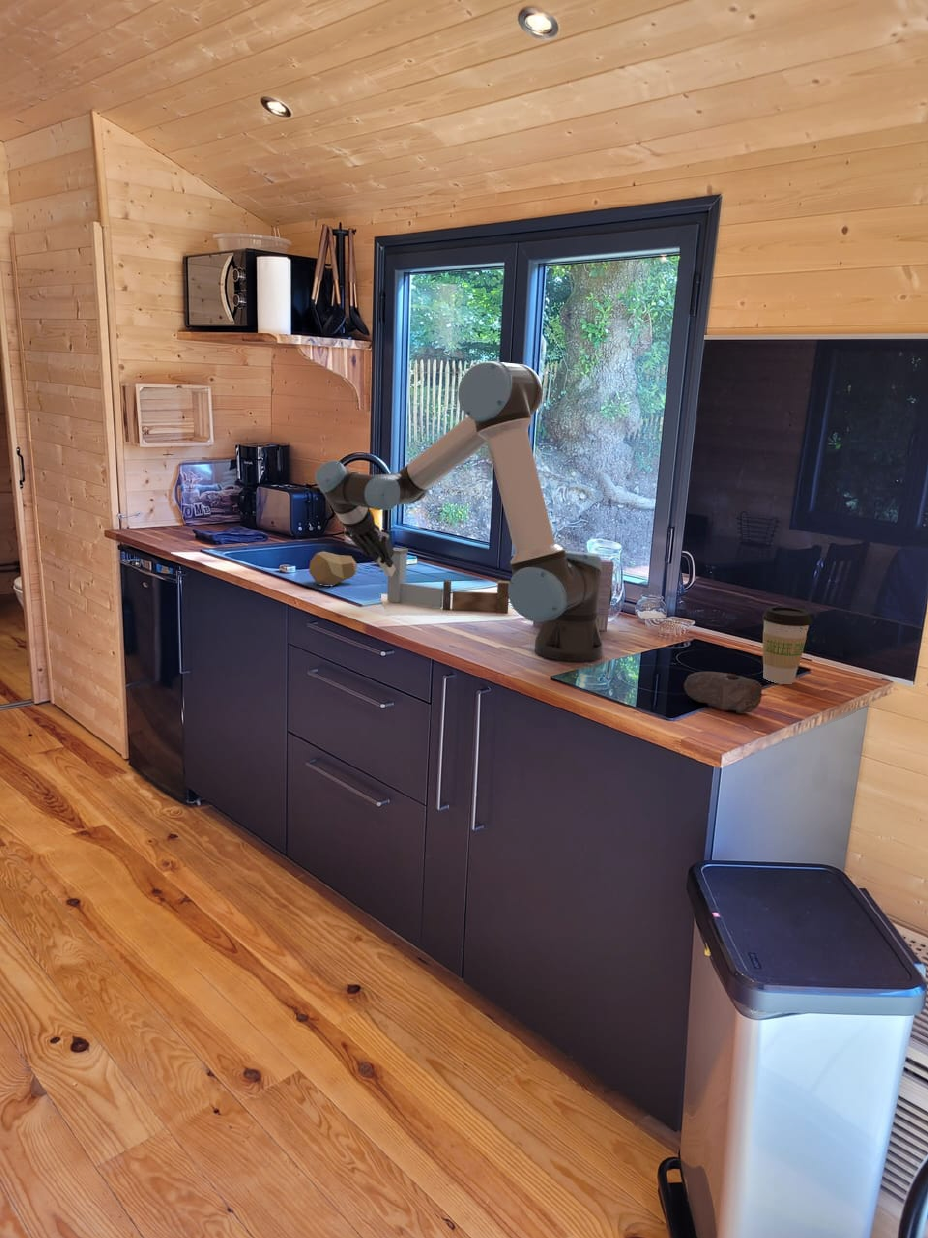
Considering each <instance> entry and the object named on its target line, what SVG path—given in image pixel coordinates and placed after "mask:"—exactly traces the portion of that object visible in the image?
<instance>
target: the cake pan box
mask: <svg viewBox="0 0 928 1238" xmlns="http://www.w3.org/2000/svg"><path fill="white" fill-rule="evenodd" d="M601 569H602V573H601V581H600V592H599V603H598V613H597V624H598V628H599V632H600V631H602V632H607V631H608V623H609V615H610V613H609V610H610V604H611V603H612V596H613V593H612V592H613V591H612V582H613V574H614V561H611V560H609V559H601ZM542 623H543V622H534V621H532V626H534V627H535V628H536V629H539V630H540V628H541V625H542Z"/></svg>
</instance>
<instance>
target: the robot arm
mask: <svg viewBox="0 0 928 1238" xmlns="http://www.w3.org/2000/svg"><path fill="white" fill-rule="evenodd" d="M457 392H458V394H457V396H458V402H459V407H460V408H461V410H462V411H463V414H465V415H466V417H464V418H463V419H462V420H461V421H460V422H458V423H457V424H456V425H455V426H454V427H452V428H451V429H450V430H449V431H447V432H446V433H445V434H443V435H442V436H441V437H440V438H438V440H436V441H435V442H434V443H433V444H431V445H430V446H428V447H427V448H426V449H425V450H424V451H423V452H421V453H420V454H418V455H417V456H416V457H415V458H414V459H413V460H411V461H410V462H409V463H408V464H407V465H406V466H404V467H403V468H402V469H400V470H399V471H397V472H390V473H380V474H367V473H366V474H365V473H359V472H352V471H348V470H347V467H346V466H345V465H344V464H343V463H342V462H341V461H339V460H330V461H327V462H324V463H323V464H321V465H320V466H319V467H318V468H317V470H316V472H315V474H314V480H315V482H316V485H317V486H318V488H319V490H320V493H322V494H323V497H324V498H325V499H326V501H327V502H328V504H329V505H330V506H331V508H332V509H333V512H334V513H335V514H336V516H337V518H338V519H339V521H340V522H341V524H342V525H343V527H344V528H345V531H344V532H343V533H344V535H345V536H346V537H347V538H349V539H350V540H351V541H352V542H353V544H354V545H356V547H357V548H358V549H359V550H360V551H361V552H362V553H363V554H364V556H365V557H367V558H370V557H371V558H372V559H373V560H375V562H376V564H378V566H379V567H380V568H381V570H382V571H383V573H384V574H385V577H386V576H387V577H388V576H390V577H392V575H393V574H394V572H395V570H396V567H395V566H394V564H393V561H392V559H391V558H392V556H393V554H394V550H393V548H394V547H393V544H392V542H391V541H392V540H391V538H390V534H391V532H390V531H389V530H386V531H385V532H384V531H382V530H380V527H379V526H378V525H376V521H375V515H374V513H373V512H372V510H371V509H374V510H377V511H381V510H382V511H390V510H393V509H394V507H396V506H397V505H398V506H399V505H405V504H406V505H407V504H408V505H410V504H414V503H417V502H419V501H421V500H423V499H424V498H425V497H426V496H427V493H428V490H429V489H430V488H431V487H432V486H434V485H435V484H436V483H438V482H440V481H441V480H442V479H443V478H444V477H446V476H447V475H448V474H450V472H453V471H454V470H455V469H456V468H457V467H459V466H460V465H461V464H463V463H464V462H465V461H467V460H468V459H469V458H470V457H471V456H473V455H475V454H476V453H477V452H478V451H479V450H481V449H482V448H483V447H485V446H486V445H487V446H488V451H489V455H490V460H491V463H492V466H493V470H494V475H495V479H496V482H497V486H498V491H499V495H500V497H501V498H500V499H501V502H502V506H503V511H504V515H505V519H506V523H507V526H508V529H509V530H508V531H509V534H510V538H511V541H512V542H511V543H512V546H513V549H514V555H513V557H512V559H511V560H510V567H511V571H512V577H511V578H510V581H509V587H508V595H509V602H510V604H511V607H512V609H513V610H514V611H515V612H516V613H517V614H518V615H519V616H521V617H523V618H524V619H526V620H528V621H530V622H533V621H534V622H543V623H542V625H541V628H540V629H539V631H538V632H537V635H536V638H535V642H534V652H535V653H536V654H538V655H539V656H542V657H544V658H548V659H551V660H557V661H562V662H563V661H564V662H578V663H579V662H590V661H591V662H592V661H595V660H598V659H600V658H601V657H603V656H602V655H603V648H604V647H603V641H602V637H601V633H600V631H599V628H598V624H597V613H598V603H599V592H600V581H601V573H602V569H601V560H602V558H601V556H599V555H598V554H595V553H591V552H582V551H575V550H568V549H567V550H566V549H565V548H564V547H562V546H561V545H559V544H557V543H556V541H555V537H554V534H553V530H552V529H553V528H552V525H551V522H550V521H551V520H550V517H549V513H548V508H547V504H546V501H545V497H544V493H543V492H544V491H543V489H542V485H541V481H540V478H539V473H538V470H537V465H536V461H535V457H534V453H533V449H532V445H531V441H530V437H529V432H528V428H529V427H530V425H531V423H532V422H533V418H532V416H533V414H535V413H536V412H537V410H538V409H539V407H540V405H541V403H542V399H543V394H544V393H543V383H542V381H541V379H540V377H539V376H538V374H537V373H536V372H535V370H533V369H532V368H531V367H529V366H527V365H525V364H522V363H515V362H514V363H512V362H511V363H510V362H504V361H503V362H501V361H498V360H490V361H480V362H479V363H476V364H474V365H472V366H471V367H470V368H469V369H468V370H466V372H465V373H464V375H463V376H462V379H461V380H460V383H459V386H458V391H457Z"/></svg>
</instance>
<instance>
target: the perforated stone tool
mask: <svg viewBox="0 0 928 1238" xmlns="http://www.w3.org/2000/svg"><path fill="white" fill-rule="evenodd" d="M685 679H686V680H685V681H684V683H683V688H684V691H685V693H686V695H688V697H690V698H691V699H693V700H694V701H696V702H698V703H702V704H703V703H704V704H707V705H708V707H710V708H714V709H718V710H721V711H734V712H735V713H737V714H745V713H749V712H750V713H751V712H753V711H754V710H755V709H757V708H758V707H759V705H760V703H761V701H762V697H763V695H762V691H763V685H762V684H761V683H760V682H759V681H758V680H755V679H752V678H747V677H744V676H740V675H736V674H733V673H732V674H731V673H725V672H718V671H717V672H716V671H699V672H694V673H692V674H691V673H690V674H689V675H688V676H687V678H685Z"/></svg>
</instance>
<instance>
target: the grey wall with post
mask: <svg viewBox="0 0 928 1238" xmlns="http://www.w3.org/2000/svg"><path fill="white" fill-rule="evenodd" d="M393 550H394V554H393V556H392V558H391V559H392V561H393V564H394V566H395V567H396V570H395V572H394V574H393V575H392V577H390V576H387V593H386V594H387V601H392V602H398V603H399V602H406V603H412V604H418V605H424V606H431V607H437V608H441V607H442V601H443V588H442V587H435V586H430V585H429V586H428V585H421V584H417V583H416V584H415V583H411V582H410V583H409V582H407V557H408V555H407V554H408V553H409V549H408V548H402V547H393Z"/></svg>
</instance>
